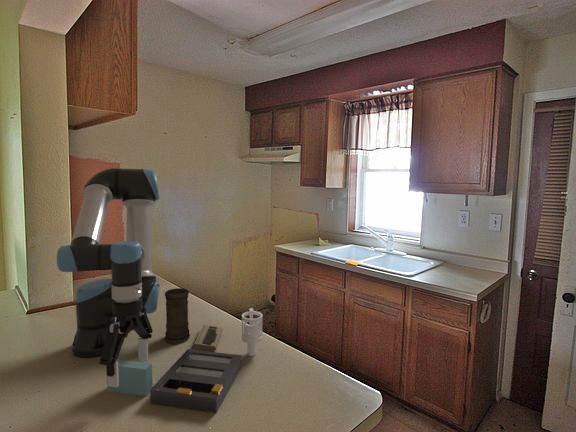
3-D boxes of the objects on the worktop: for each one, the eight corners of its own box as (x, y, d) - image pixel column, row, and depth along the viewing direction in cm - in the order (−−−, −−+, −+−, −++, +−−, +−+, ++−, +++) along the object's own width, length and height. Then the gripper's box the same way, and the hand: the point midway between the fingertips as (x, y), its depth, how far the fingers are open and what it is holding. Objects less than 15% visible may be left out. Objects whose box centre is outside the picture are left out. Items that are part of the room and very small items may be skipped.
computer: (215, 352, 122) (215, 343, 121) (192, 352, 121) (192, 343, 121) (222, 332, 137) (222, 324, 137) (201, 332, 137) (201, 324, 136)
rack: (150, 403, 93) (150, 387, 93) (187, 360, 115) (187, 347, 114) (216, 413, 90) (216, 396, 90) (241, 367, 112) (242, 353, 111)
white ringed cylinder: (260, 347, 125) (261, 307, 123) (263, 357, 118) (264, 315, 116) (240, 349, 123) (241, 308, 121) (242, 359, 116) (242, 316, 114)
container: (176, 346, 124) (175, 297, 122) (159, 339, 129) (158, 292, 127) (195, 336, 132) (194, 290, 130) (178, 330, 136) (178, 286, 134)
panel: (107, 391, 98) (106, 364, 97) (114, 384, 101) (113, 358, 100) (146, 396, 96) (145, 369, 95) (152, 390, 99) (152, 363, 98)
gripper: (109, 316, 82) (111, 401, 85) (163, 286, 107) (164, 352, 109) (81, 313, 84) (84, 397, 86) (141, 284, 108) (142, 349, 110)
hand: (129, 372), depth 97 cm, fingers open, 13 cm apart
